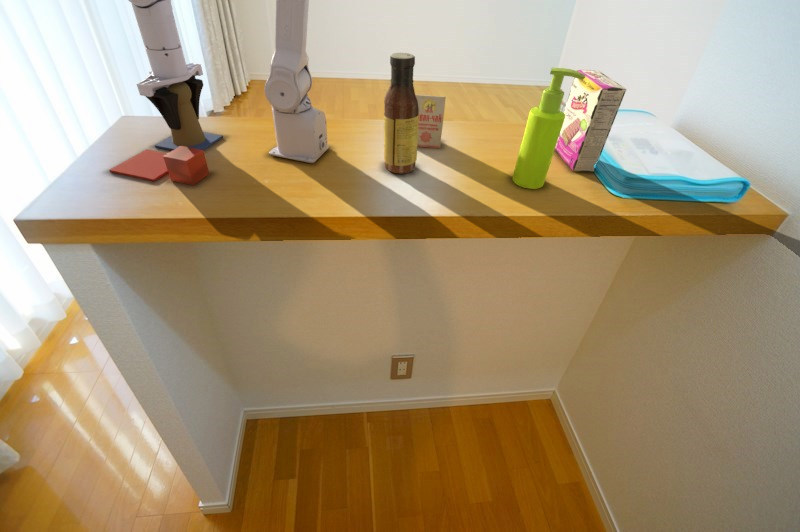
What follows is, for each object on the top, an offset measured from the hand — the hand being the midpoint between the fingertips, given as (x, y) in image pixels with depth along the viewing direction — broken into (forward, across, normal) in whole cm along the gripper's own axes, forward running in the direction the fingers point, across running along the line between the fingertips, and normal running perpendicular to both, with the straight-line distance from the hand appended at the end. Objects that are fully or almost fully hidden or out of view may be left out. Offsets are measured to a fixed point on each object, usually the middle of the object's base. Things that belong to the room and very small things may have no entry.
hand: (184, 123), depth 80 cm
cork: (+4, 0, 0) cm, 4 cm away
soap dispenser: (+4, -10, +67) cm, 68 cm away
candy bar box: (+4, -23, +75) cm, 79 cm away
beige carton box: (+4, -18, +44) cm, 48 cm away
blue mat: (+4, 0, 0) cm, 4 cm away
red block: (+4, +12, +9) cm, 15 cm away
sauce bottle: (+4, -6, +42) cm, 43 cm away
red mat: (+4, +11, 0) cm, 12 cm away
